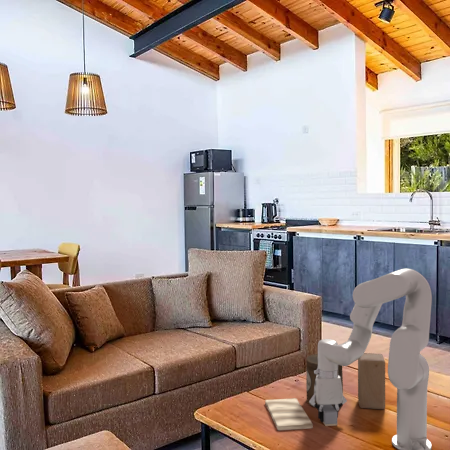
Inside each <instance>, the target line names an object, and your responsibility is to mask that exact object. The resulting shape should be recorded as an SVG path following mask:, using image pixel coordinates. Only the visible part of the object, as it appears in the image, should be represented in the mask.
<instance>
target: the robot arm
mask: <svg viewBox="0 0 450 450" xmlns="http://www.w3.org/2000/svg"><path fill="white" fill-rule="evenodd" d="M432 296H433V294H432V290H431V285H430V283H429V282H428V280H427V279H426V277H425V276H423V275H422V274H421V273H420V272H418V271H417V270H415V269H413V268H401V269H397V270H395V271H392V272H390V273H386V274H384V275H381V276H379V277H376V278H373V279H371V280H367V281H364V282H361V283H358V285H357V286H356V287H354V289H353V291H352V300H353V302H354V306H353V308H352V310H351V312H350V313H349V320H350V321H351V322H352V324H353V327H352V329H351V330H352V331H351V332H350V335H349V336H348V337H349V338H348V339H347V340H346V341H345V342H343V343H338V342H337V341H336V340H335V339H331V338H323V339H320V340H318V343H317V354H318V368H317V370H314V374H318V375H317V376H316V380H315V386H314V395H313V396H312V398H311V399H310V401H309V403H310V404H311V405H313V406H314V407H313V406H312V407H313V408H315V407H316V410H317V418H318V420H319V421H320V422H321V423H323V411H322V409H323V405H332V404H333V405H334V409H335V410H336V411H337V419H338V418H339V410H340V409H341V408H342V406H343V405H345V404H346V403H347V401H348V400H347V399H346V398H345V396H344V391H343V392H342V383H341V378H340V376H339V375H338V365H341V366H342V367H348V366H350V365H351V364H353V363H355V362H356V361H358V359H359V358H361V357H362V355H363V354H364V353H366V350H367V348H368V346H369V343H370V341H371V338H372V334H373V326H374V323H375V322H376V319H377V317H378V314H379V312H380V310H381V309H382V306H383V304H386V303H389V302H392V301H395V300H397V299H400V298H402V297H405V301H404V305H403V313H402V314H403V316H402V323H401V326H400V327H398V328H397V329H396V330H395V331H394V332H393V333H392V335H391V337H390V339H389V340H390V342H389V348H388V349H389V351H388V361H387V362H388V363H387V376H388V379H389V381H390V383H391V385H392V386H393V387H394V388H396V389H397V390H396V434H395V435H393V436H392V437H391V444H392V445H393V447H395V449H397V450H432V442H431V441H430V440H429V439H428V438H427V435H428V434H427V432H428V428H427V426H428V425H427V422H428V420H427V419H428V405H427V404H428V385H429V376H430V367H429V363H428V361H427V359H426V357H424V356H423V355H422V354H421V352H422V351H423V350H424V349H425V348H427V346H428V344H429V340H430V328H431V327H430V326H431V313H432ZM315 400H316V402H317V403H315ZM311 405H310V406H311Z"/></svg>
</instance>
